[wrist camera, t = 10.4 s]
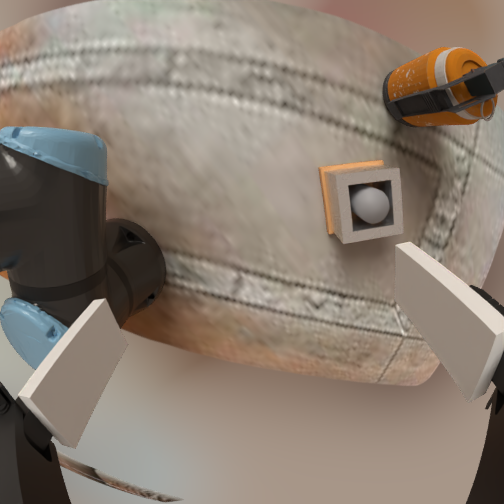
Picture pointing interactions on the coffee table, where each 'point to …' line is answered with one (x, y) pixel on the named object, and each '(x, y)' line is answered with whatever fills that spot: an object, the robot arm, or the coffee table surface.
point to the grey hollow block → (340, 207)
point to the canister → (444, 88)
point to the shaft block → (358, 197)
